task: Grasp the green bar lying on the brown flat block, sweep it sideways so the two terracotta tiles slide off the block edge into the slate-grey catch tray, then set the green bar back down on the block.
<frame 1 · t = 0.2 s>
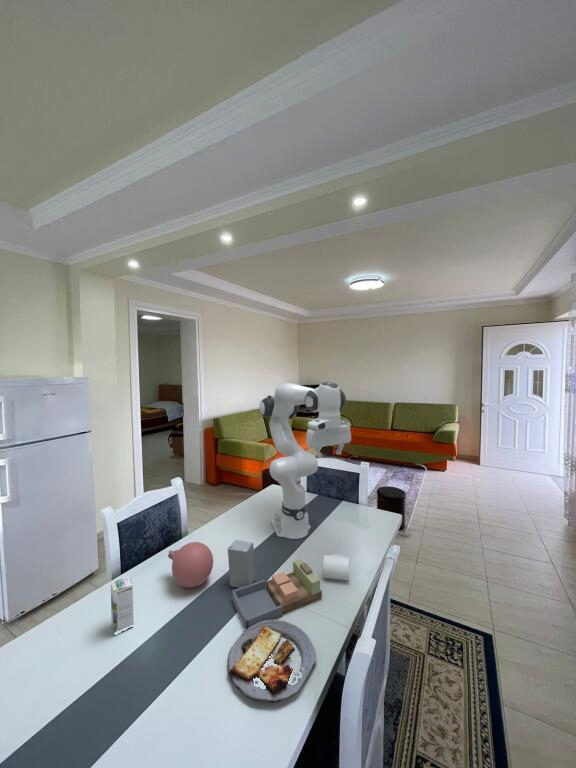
hand: (329, 455, 130), 47 cm above the table, fingers open, 8 cm apart
tile a: (281, 584, 118), point 3 cm above the table, touching brown flat block
green bar: (306, 581, 120), point 3 cm above the table, touching brown flat block
brown flat block: (293, 594, 117), on the table
balloon: (189, 581, 124), on the table
catch tray: (256, 608, 111), on the table
skincare box: (242, 584, 123), on the table
tile b: (288, 594, 113), point 3 cm above the table, touching brown flat block
food plate: (271, 662, 91), on the table
syrup box: (122, 626, 103), on the table
mug: (336, 574, 129), on the table
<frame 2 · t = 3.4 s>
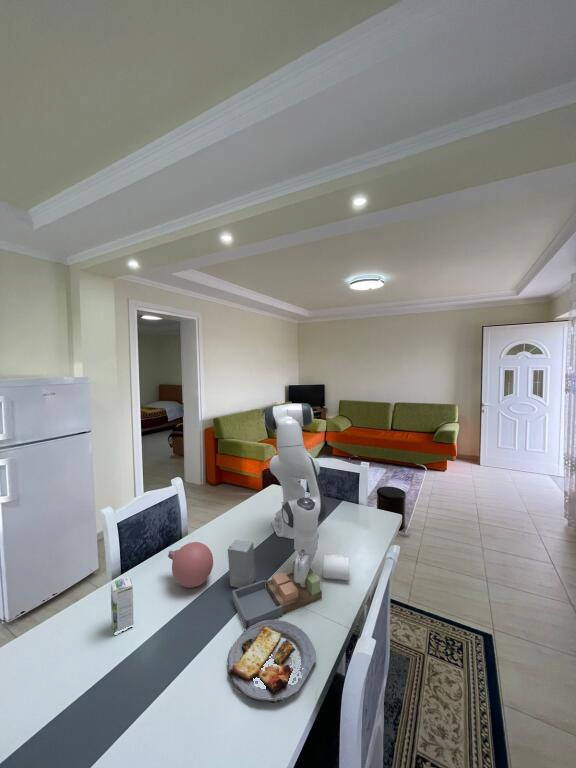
hand: (305, 578, 119), 4 cm above the table, fingers closed on green bar, 7 cm apart
green bar: (305, 581, 120), point 3 cm above the table, touching brown flat block, gripper
everything else where it was.
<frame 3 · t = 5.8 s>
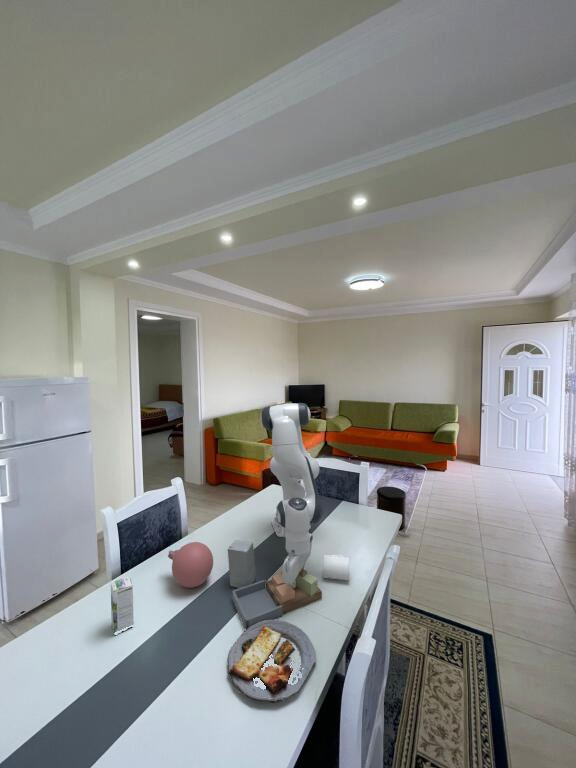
hand: (297, 579, 118), 5 cm above the table
tile a: (281, 584, 118), point 3 cm above the table, touching green bar
green bar: (299, 584, 118), point 3 cm above the table, touching gripper, tile a
tile b: (285, 595, 112), point 3 cm above the table, touching gripper
everything else where it was.
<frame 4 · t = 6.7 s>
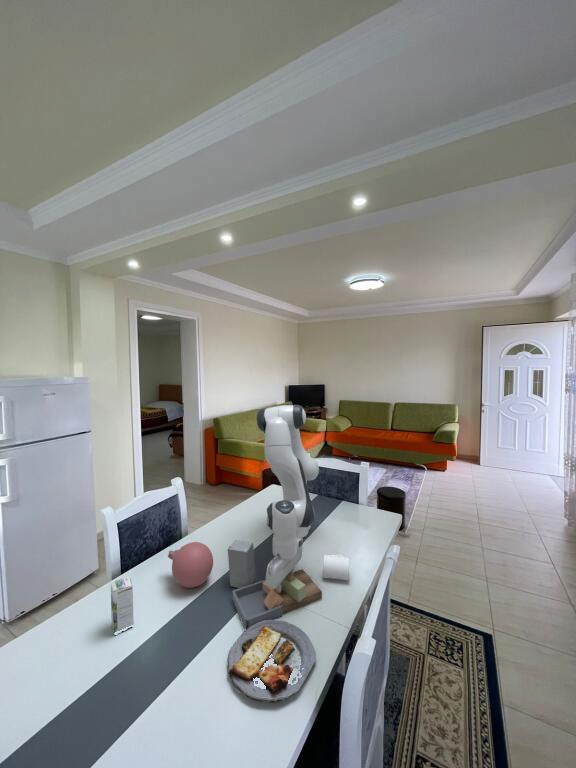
hand: (284, 584, 115), 5 cm above the table, fingers open, 6 cm apart
tile a: (272, 589, 116), point 3 cm above the table, touching green bar
green bar: (288, 589, 116), point 3 cm above the table, touching brown flat block, gripper, tile a
tile b: (275, 601, 110), point 2 cm above the table, tilted 49°, touching catch tray, gripper
everything else where it was.
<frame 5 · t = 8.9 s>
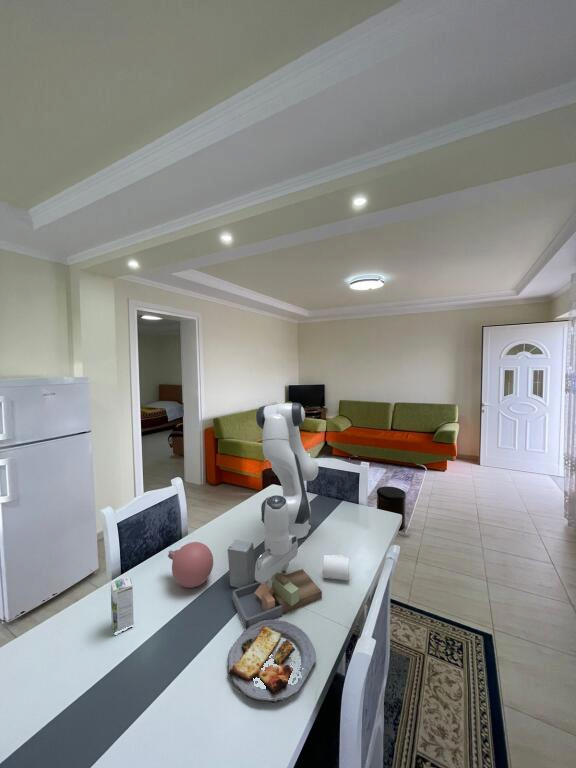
hand: (277, 580, 114), 7 cm above the table, fingers open, 6 cm apart
tile a: (265, 594, 114), point 2 cm above the table, tilted 30°, touching brown flat block, catch tray
green bar: (282, 592, 114), point 3 cm above the table, touching brown flat block
tile b: (271, 602, 109), point 3 cm above the table, tilted 90°, touching catch tray
everything else where it was.
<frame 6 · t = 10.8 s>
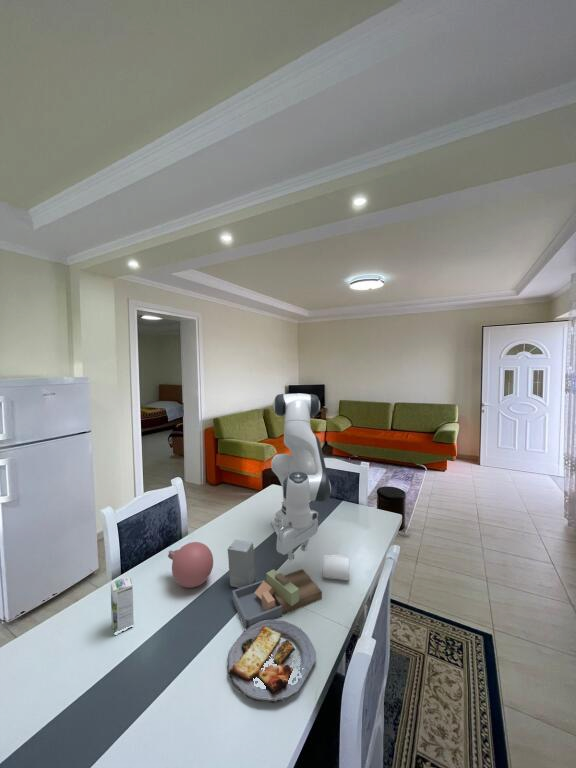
hand: (297, 554, 117), 15 cm above the table, fingers open, 6 cm apart
nothing on the table moved.
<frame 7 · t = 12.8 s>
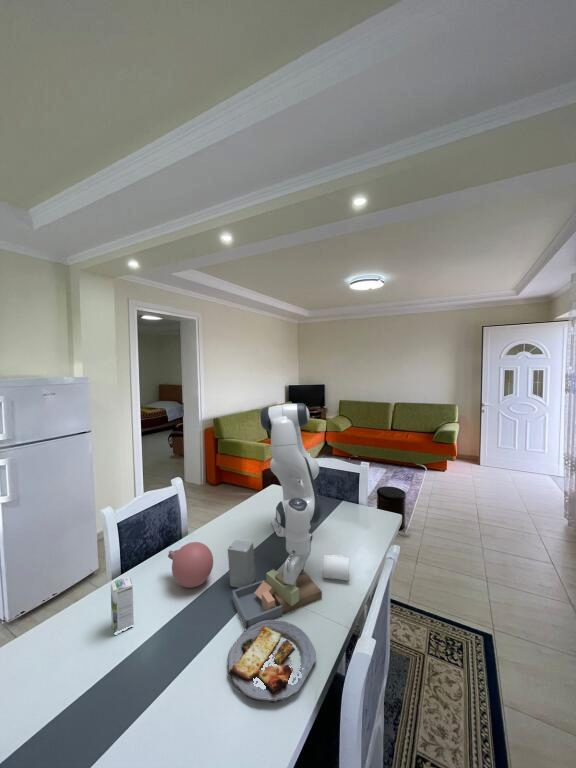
hand: (297, 580, 118), 5 cm above the table, fingers open, 7 cm apart
green bar: (282, 592, 114), point 3 cm above the table, touching brown flat block, gripper
everything else where it was.
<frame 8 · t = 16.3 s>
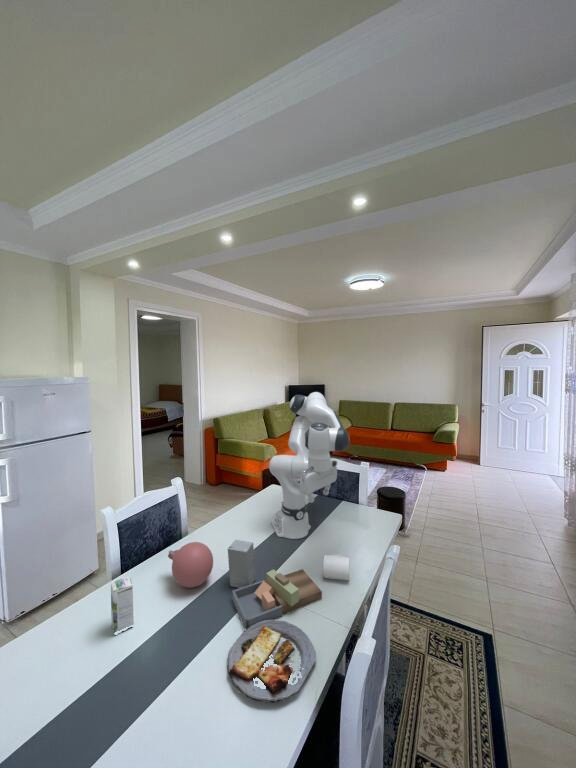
hand: (318, 498, 127), 31 cm above the table, fingers open, 8 cm apart
green bar: (281, 592, 114), point 3 cm above the table, touching brown flat block
everything else where it was.
at the end: tile a inside the target area (5.0 cm from its centre), point 2.0 cm above the table; tile b inside the target area (5.4 cm from its centre), point 3.1 cm above the table; the gripper is holding nothing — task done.
